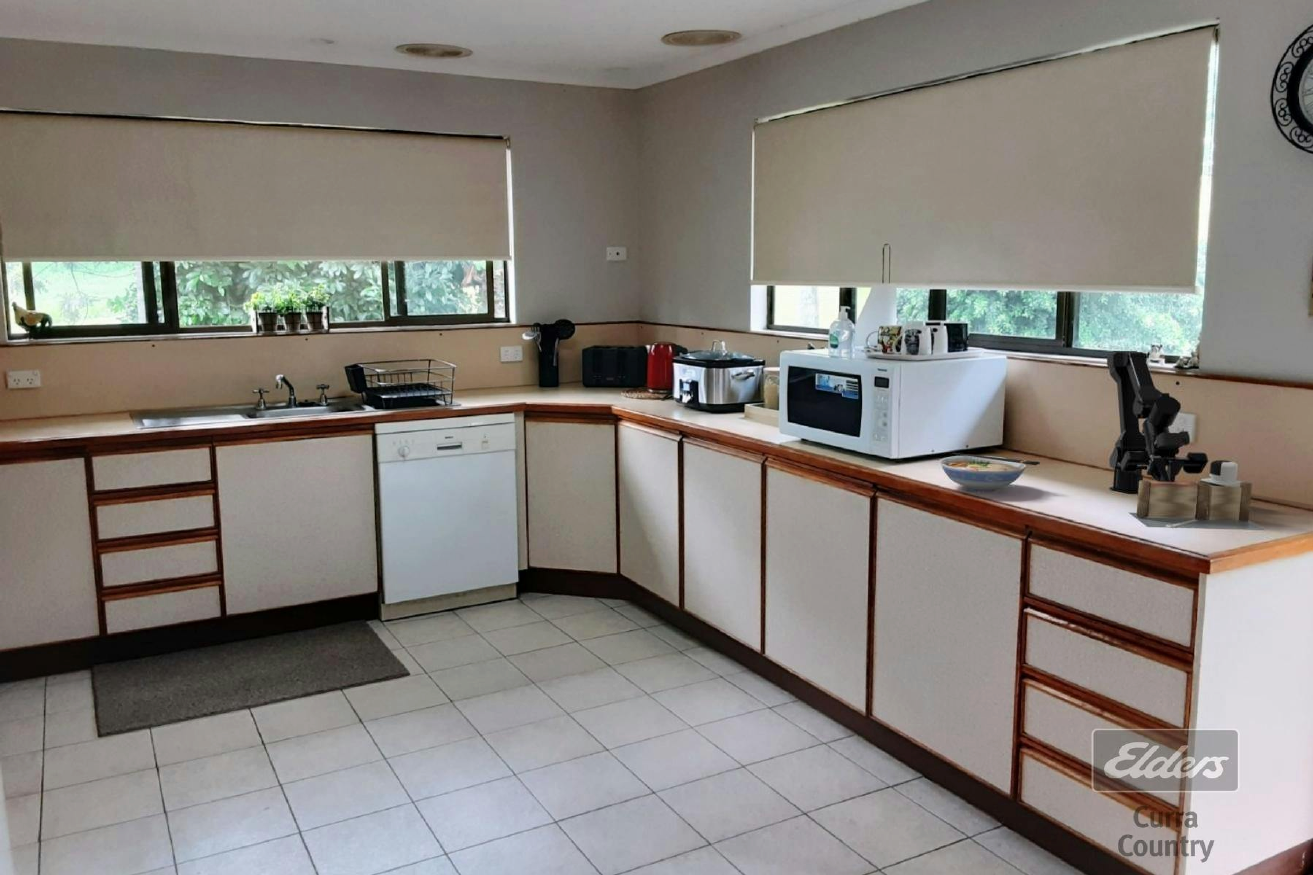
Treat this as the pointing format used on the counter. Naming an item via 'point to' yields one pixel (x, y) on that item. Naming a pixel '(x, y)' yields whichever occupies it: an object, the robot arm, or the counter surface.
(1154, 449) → the robot arm
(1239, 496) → the fence fixed
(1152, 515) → the fence gate
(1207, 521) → the card
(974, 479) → the ramen bowl
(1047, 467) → the counter surface
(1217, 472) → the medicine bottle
